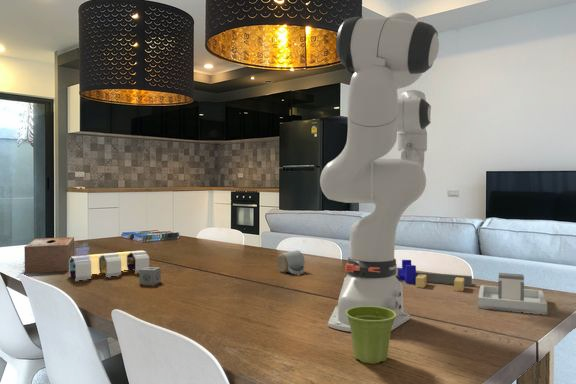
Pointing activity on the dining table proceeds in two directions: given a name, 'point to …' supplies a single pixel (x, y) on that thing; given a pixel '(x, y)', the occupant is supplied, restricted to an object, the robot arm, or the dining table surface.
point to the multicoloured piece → (105, 263)
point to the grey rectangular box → (511, 286)
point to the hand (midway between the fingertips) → (412, 188)
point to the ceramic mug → (291, 262)
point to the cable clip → (407, 272)
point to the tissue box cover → (48, 254)
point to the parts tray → (512, 301)
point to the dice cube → (150, 275)
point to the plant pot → (370, 332)
